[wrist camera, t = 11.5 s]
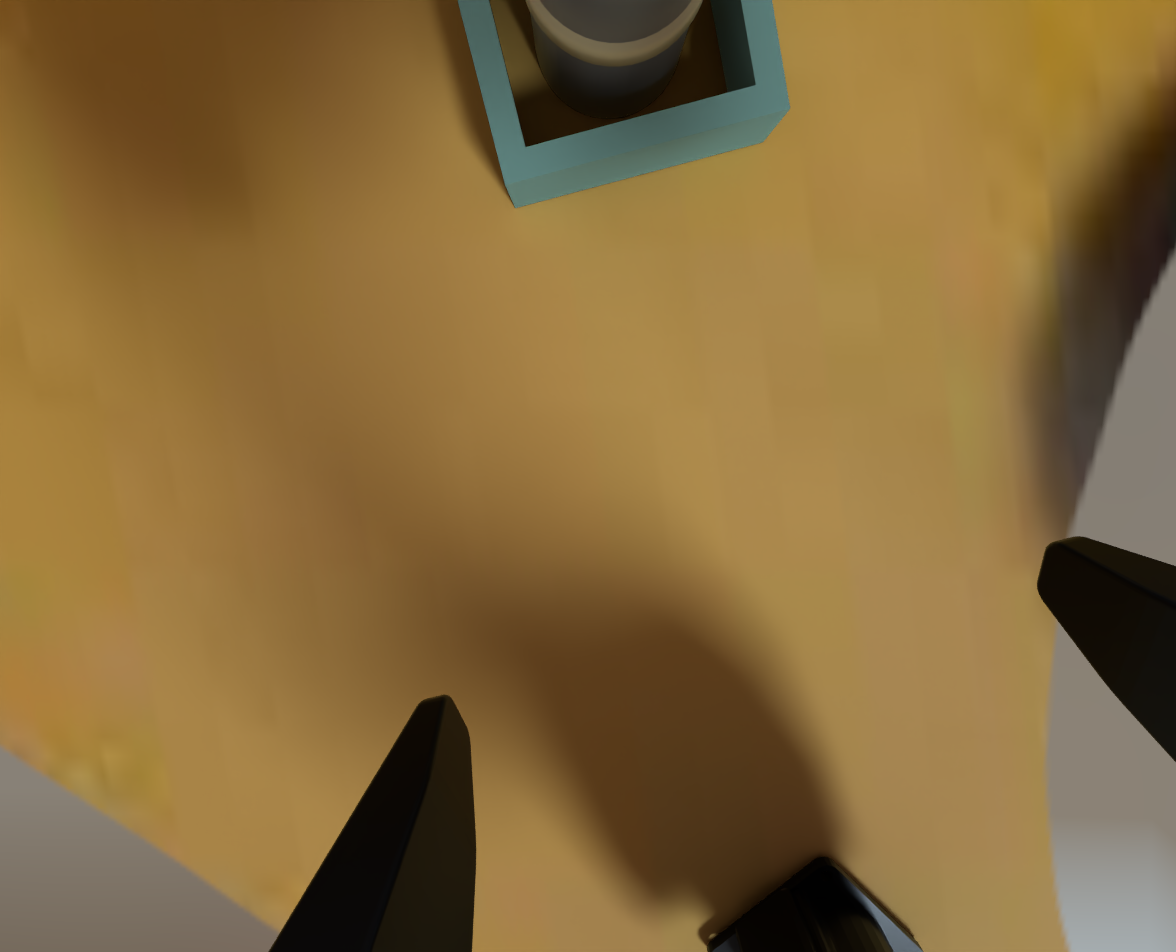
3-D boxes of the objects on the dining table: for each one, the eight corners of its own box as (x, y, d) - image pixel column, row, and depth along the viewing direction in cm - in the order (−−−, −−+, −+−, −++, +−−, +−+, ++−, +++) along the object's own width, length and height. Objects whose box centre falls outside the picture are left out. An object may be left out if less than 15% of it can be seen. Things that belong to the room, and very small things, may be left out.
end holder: (762, 142, 19) (790, 108, 16) (515, 208, 19) (504, 185, 16) (710, -153, 17) (731, -239, 15) (442, -76, 17) (419, -148, 15)
